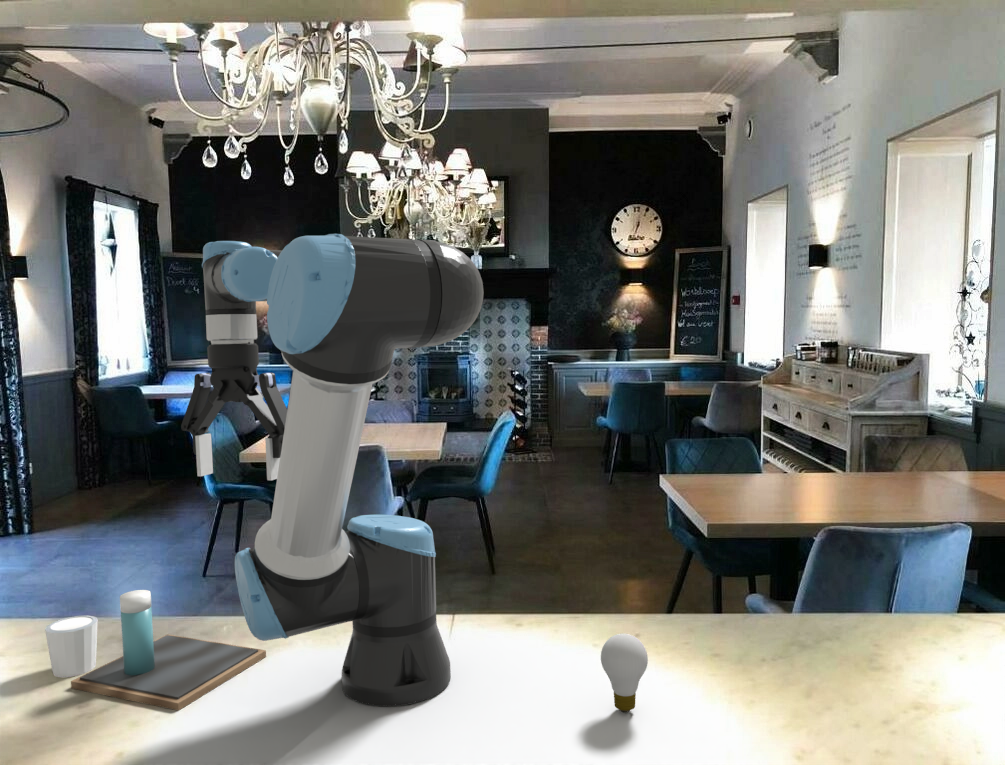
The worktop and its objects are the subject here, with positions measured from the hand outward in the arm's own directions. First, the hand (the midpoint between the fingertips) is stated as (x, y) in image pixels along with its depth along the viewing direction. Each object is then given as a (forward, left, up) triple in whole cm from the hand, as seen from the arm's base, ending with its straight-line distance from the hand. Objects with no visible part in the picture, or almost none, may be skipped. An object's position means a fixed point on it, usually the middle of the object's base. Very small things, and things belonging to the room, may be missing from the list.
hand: (239, 477), depth 122 cm
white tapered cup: (+18, +17, -27) cm, 36 cm away
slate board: (+3, +13, -27) cm, 30 cm away
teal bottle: (+6, +16, -25) cm, 31 cm away
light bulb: (-62, +3, -27) cm, 68 cm away
